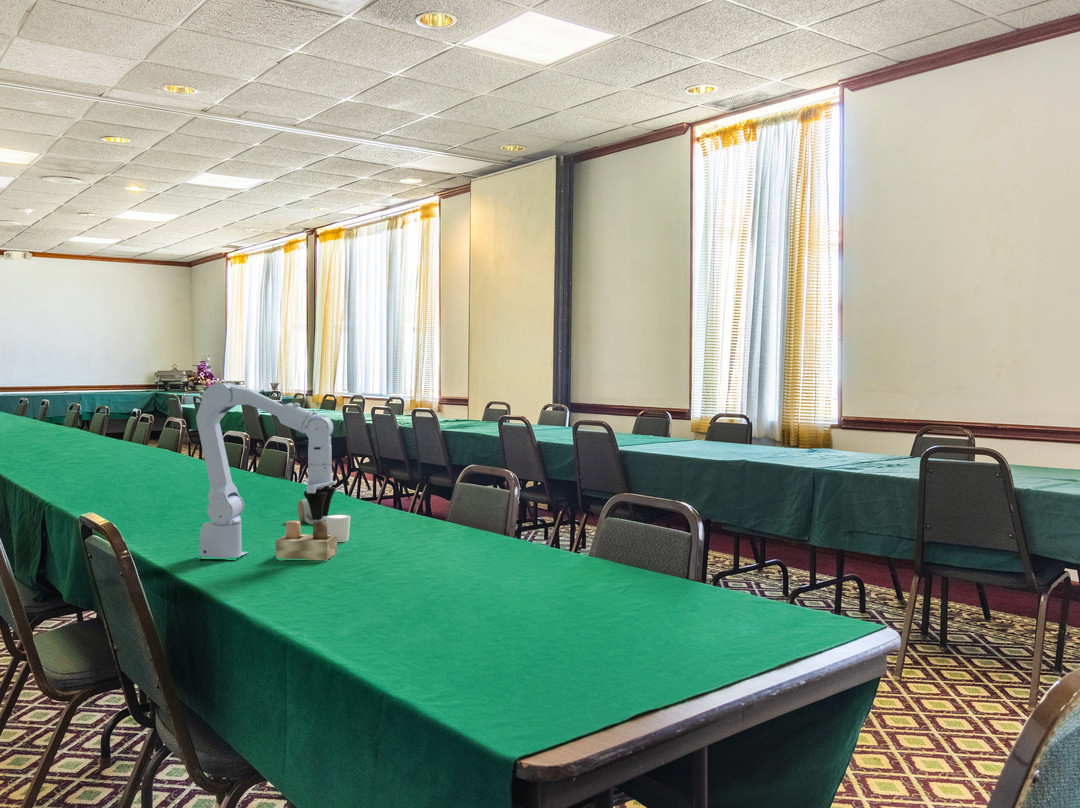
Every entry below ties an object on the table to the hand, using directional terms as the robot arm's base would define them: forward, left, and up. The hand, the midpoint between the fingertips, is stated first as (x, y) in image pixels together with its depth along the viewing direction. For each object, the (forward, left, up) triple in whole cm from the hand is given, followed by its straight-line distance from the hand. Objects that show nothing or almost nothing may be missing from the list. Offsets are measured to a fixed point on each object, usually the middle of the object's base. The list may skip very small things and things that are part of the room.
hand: (320, 517), depth 214 cm
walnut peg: (0, 0, -6) cm, 6 cm away
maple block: (-4, 0, -10) cm, 11 cm away
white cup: (-2, +20, -10) cm, 23 cm away
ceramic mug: (-17, +48, -10) cm, 52 cm away
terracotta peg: (-7, 0, -6) cm, 9 cm away
